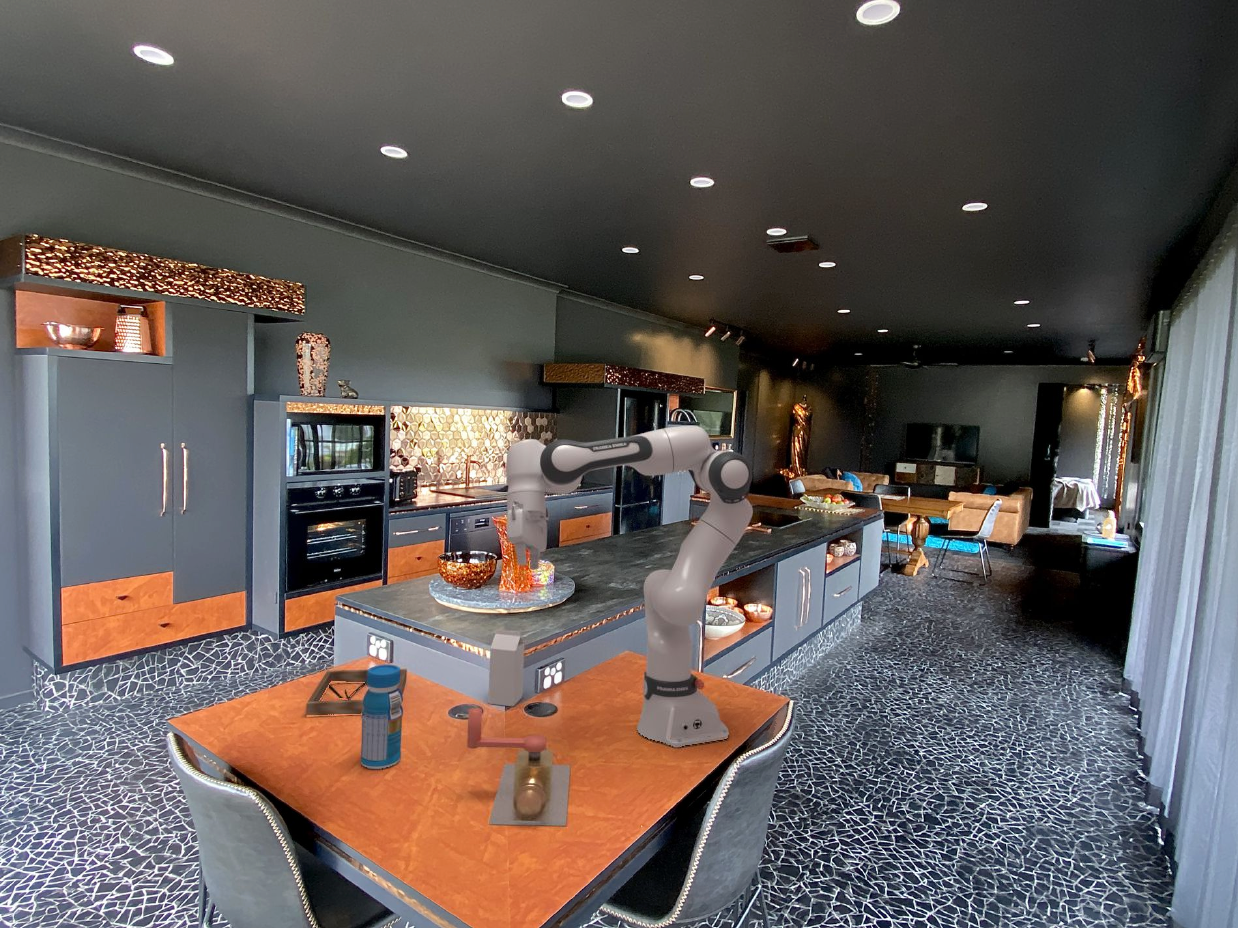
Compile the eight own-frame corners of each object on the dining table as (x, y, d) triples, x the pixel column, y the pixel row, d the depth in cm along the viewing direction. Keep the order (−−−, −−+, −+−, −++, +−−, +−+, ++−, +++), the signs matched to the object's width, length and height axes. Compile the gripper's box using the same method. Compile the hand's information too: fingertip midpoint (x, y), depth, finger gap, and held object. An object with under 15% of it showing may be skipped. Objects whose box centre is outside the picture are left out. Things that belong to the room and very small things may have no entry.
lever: (546, 742, 136) (548, 707, 136) (545, 752, 132) (546, 716, 132) (469, 740, 136) (470, 705, 136) (465, 750, 131) (466, 714, 131)
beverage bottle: (360, 773, 140) (364, 677, 139) (358, 755, 147) (361, 664, 147) (403, 767, 143) (406, 673, 143) (399, 750, 151) (402, 661, 150)
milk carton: (513, 707, 178) (516, 635, 178) (488, 704, 180) (490, 633, 179) (522, 697, 185) (525, 628, 185) (498, 694, 187) (500, 626, 186)
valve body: (504, 767, 145) (506, 725, 145) (570, 768, 146) (571, 726, 145) (489, 824, 123) (490, 774, 123) (566, 825, 124) (568, 776, 123)
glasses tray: (406, 680, 194) (406, 668, 194) (397, 713, 171) (397, 700, 171) (326, 682, 190) (327, 670, 190) (306, 717, 166) (306, 703, 166)
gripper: (526, 497, 147) (528, 560, 144) (550, 514, 167) (553, 570, 163) (498, 500, 148) (500, 563, 145) (525, 516, 168) (527, 572, 164)
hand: (528, 567), depth 154 cm, fingers open, 8 cm apart
